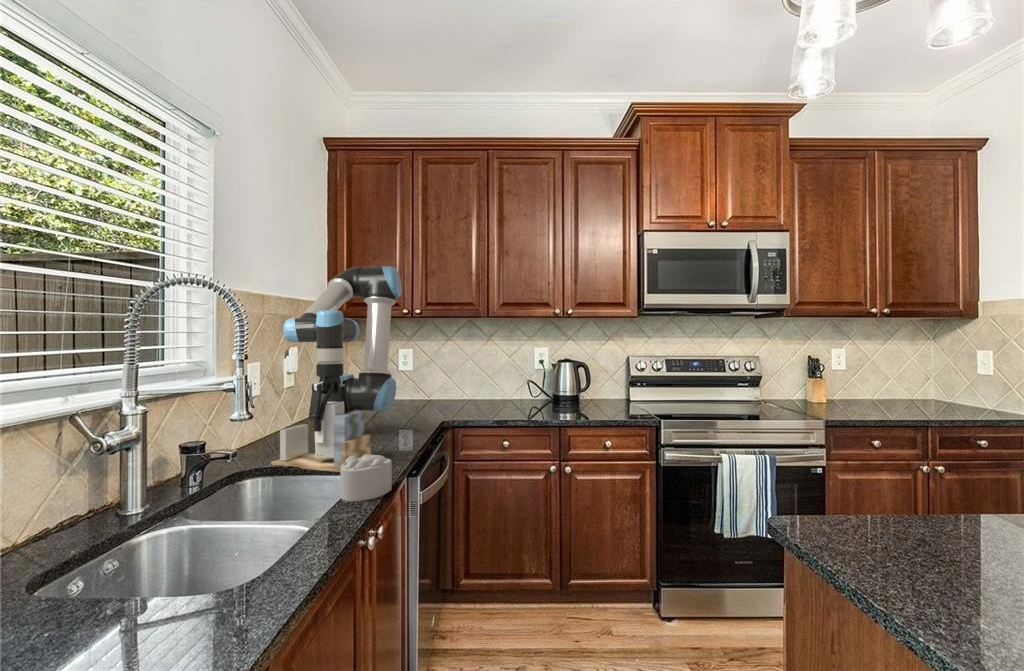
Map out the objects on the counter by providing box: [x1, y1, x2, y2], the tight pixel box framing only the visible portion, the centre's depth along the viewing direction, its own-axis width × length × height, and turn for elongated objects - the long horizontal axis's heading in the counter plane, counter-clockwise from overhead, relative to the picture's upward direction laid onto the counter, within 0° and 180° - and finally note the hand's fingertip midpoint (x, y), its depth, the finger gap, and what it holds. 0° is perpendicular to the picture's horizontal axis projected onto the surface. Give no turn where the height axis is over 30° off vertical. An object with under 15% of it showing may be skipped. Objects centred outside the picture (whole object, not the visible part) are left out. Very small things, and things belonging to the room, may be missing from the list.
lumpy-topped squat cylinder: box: [339, 454, 393, 502], centre depth 128 cm, size 10×13×9 cm
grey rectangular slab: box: [279, 423, 309, 461], centre depth 159 cm, size 10×2×9 cm, turn 164°
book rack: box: [270, 410, 372, 473], centre depth 156 cm, size 13×25×15 cm, turn 73°
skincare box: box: [314, 401, 344, 459], centre depth 155 cm, size 8×7×16 cm
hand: (330, 439), depth 155 cm, fingers closed on skincare box, 9 cm apart
